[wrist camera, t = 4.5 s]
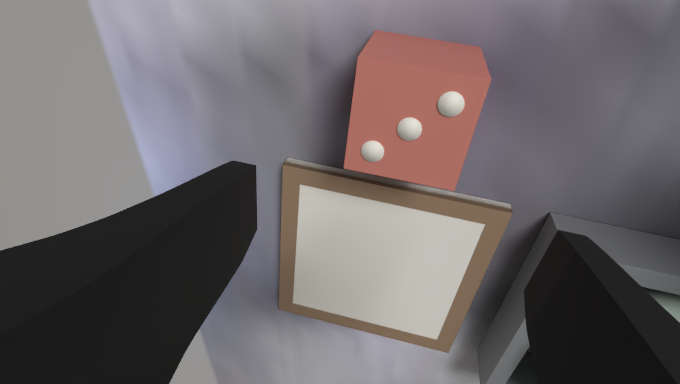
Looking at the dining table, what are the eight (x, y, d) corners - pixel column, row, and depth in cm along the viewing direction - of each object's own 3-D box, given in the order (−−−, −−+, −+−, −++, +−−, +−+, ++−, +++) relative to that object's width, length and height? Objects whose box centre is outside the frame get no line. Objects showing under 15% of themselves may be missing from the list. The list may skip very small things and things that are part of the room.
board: (510, 204, 20) (512, 213, 19) (448, 342, 27) (448, 352, 26) (287, 157, 21) (282, 164, 21) (282, 300, 28) (278, 309, 28)
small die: (480, 46, 16) (491, 80, 13) (451, 141, 19) (454, 192, 15) (375, 29, 17) (357, 57, 13) (361, 124, 20) (343, 169, 16)
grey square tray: (811, 267, 18) (867, 317, 16) (664, 396, 25) (687, 446, 23) (550, 212, 20) (565, 251, 17) (477, 349, 27) (480, 391, 24)
